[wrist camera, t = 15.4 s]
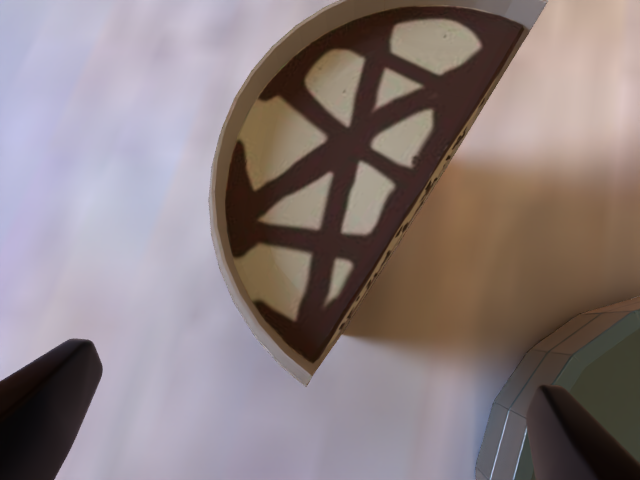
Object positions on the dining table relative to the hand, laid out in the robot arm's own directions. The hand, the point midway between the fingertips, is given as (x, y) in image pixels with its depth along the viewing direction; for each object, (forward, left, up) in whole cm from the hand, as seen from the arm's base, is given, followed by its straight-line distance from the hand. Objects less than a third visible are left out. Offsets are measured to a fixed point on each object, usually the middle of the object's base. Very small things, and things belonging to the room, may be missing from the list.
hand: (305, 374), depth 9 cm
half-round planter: (+2, +6, -11) cm, 13 cm away
